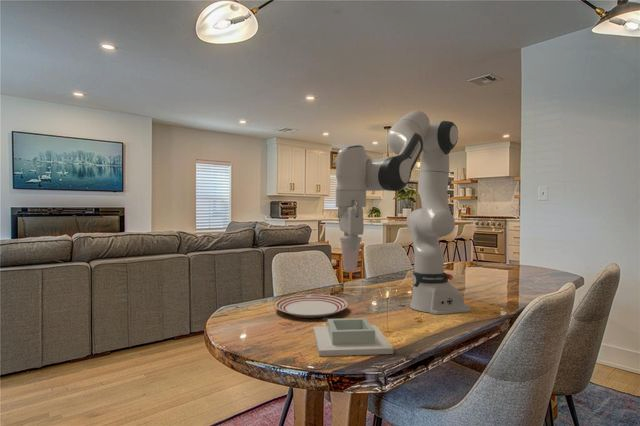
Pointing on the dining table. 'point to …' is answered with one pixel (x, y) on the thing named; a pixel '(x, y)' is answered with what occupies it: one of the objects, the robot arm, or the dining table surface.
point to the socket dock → (350, 338)
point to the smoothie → (349, 253)
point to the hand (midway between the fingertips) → (350, 248)
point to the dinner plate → (311, 305)
